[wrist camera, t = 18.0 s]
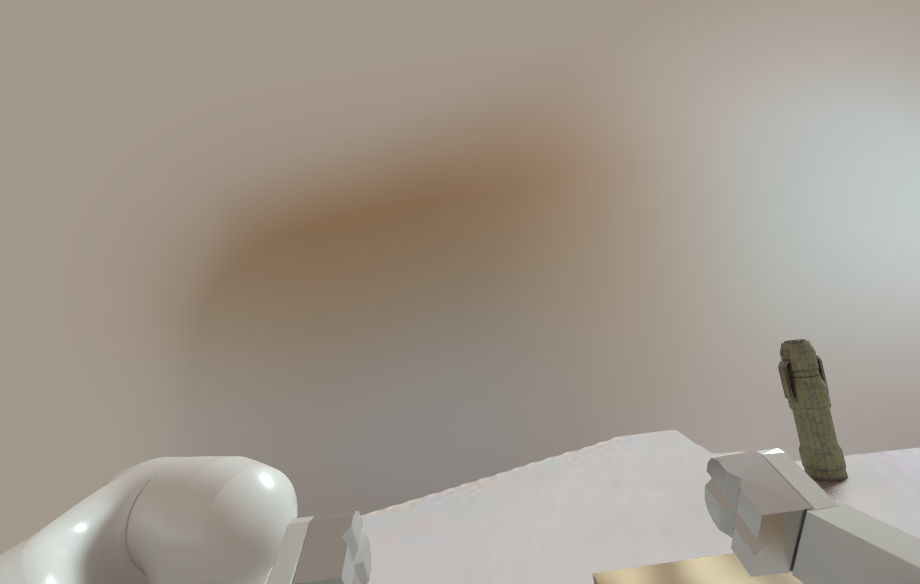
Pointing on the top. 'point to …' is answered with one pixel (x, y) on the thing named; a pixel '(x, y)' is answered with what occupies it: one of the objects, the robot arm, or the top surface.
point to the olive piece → (811, 410)
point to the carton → (693, 573)
